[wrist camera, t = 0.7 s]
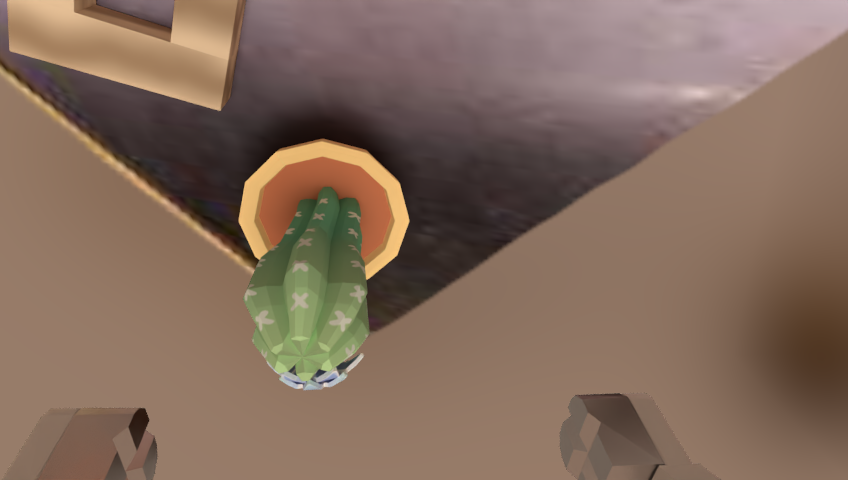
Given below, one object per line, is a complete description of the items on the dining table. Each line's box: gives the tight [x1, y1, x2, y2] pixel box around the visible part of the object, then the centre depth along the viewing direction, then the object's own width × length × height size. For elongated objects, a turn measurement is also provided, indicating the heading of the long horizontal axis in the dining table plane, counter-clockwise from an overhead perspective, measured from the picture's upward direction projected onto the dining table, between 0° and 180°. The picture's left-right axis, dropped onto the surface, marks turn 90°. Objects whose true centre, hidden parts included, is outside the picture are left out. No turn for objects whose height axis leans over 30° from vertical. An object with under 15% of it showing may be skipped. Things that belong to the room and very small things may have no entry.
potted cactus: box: [239, 139, 409, 390], centre depth 44 cm, size 15×15×25 cm
